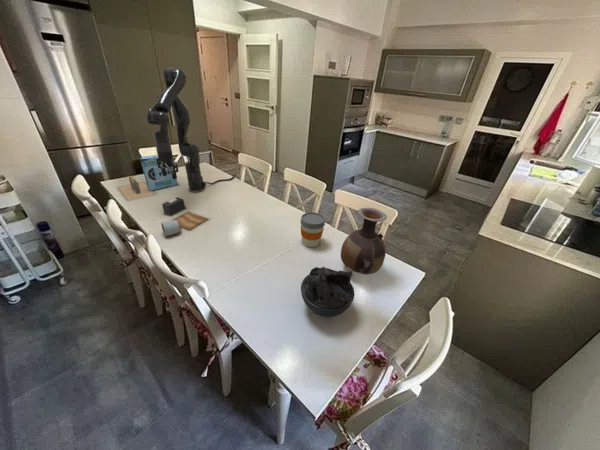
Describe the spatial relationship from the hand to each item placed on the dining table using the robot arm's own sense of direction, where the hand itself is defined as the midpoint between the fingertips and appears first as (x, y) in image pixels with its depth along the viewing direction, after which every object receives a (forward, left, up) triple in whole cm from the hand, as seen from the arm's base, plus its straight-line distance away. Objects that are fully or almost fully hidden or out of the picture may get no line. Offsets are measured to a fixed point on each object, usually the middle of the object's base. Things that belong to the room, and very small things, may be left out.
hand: (169, 177), depth 150 cm
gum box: (-16, -32, -20) cm, 40 cm away
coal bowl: (+27, +113, -20) cm, 117 cm away
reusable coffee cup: (-10, +90, -20) cm, 92 cm away
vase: (-2, +119, -20) cm, 120 cm away
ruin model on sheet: (-2, -41, -20) cm, 46 cm away
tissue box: (+4, +4, -20) cm, 21 cm away
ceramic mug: (+22, +21, -20) cm, 36 cm away
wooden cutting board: (+8, +20, -20) cm, 29 cm away
